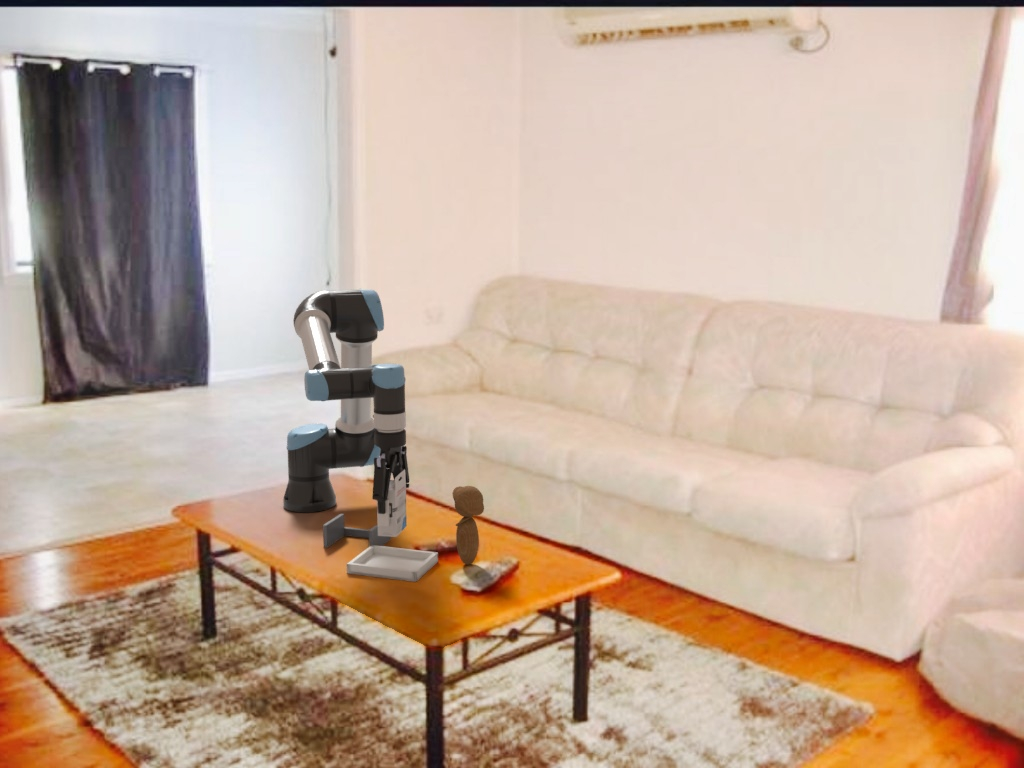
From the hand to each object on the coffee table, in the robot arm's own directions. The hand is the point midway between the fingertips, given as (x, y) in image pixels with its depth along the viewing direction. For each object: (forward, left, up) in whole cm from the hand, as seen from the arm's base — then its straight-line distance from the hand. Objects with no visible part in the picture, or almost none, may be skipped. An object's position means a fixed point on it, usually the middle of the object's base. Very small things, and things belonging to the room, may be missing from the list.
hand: (392, 519), depth 251 cm
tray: (0, 0, -12) cm, 12 cm away
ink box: (0, 0, -3) cm, 3 cm away
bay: (-13, -16, -12) cm, 24 cm away
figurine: (-8, +17, -12) cm, 22 cm away
